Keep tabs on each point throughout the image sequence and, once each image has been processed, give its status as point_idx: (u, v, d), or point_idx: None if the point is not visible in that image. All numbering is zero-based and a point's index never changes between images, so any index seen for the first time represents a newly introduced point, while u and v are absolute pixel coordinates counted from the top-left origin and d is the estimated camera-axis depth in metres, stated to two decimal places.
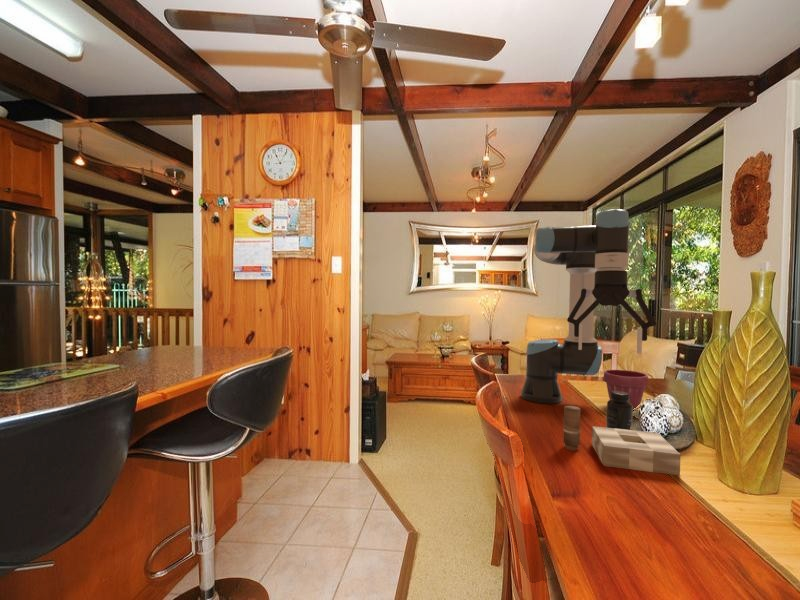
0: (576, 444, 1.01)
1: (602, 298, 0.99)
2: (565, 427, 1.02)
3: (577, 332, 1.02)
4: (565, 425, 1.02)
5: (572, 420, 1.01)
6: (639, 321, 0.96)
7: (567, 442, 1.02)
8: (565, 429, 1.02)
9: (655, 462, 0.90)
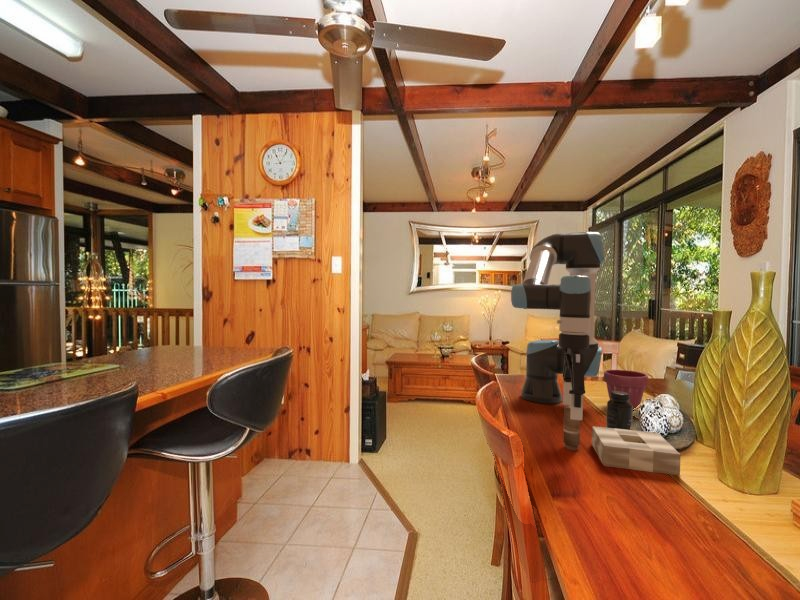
0: (576, 444, 1.01)
1: (565, 359, 1.05)
2: (565, 427, 1.02)
3: None
4: (565, 425, 1.02)
5: (572, 420, 1.01)
6: (571, 386, 0.97)
7: (567, 442, 1.02)
8: (565, 429, 1.02)
9: (655, 462, 0.90)
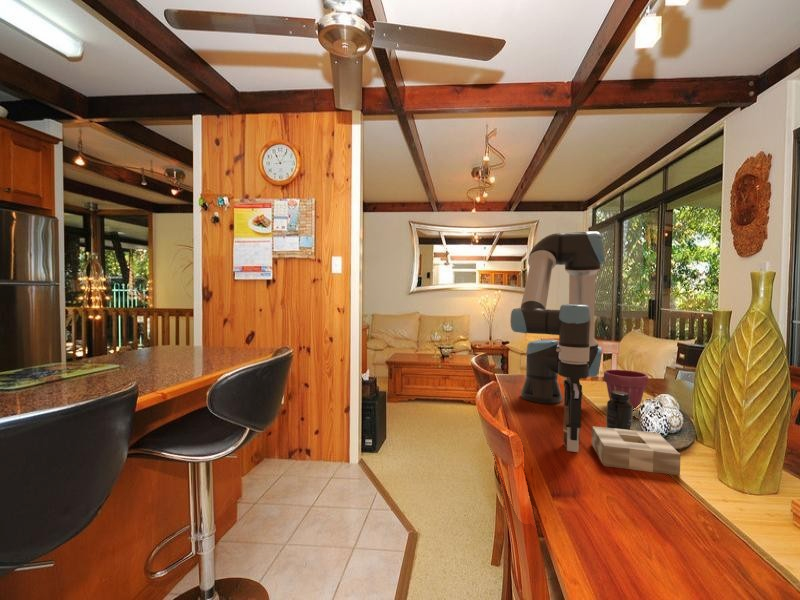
0: None
1: None
2: (565, 427, 1.02)
3: None
4: (565, 426, 1.02)
5: None
6: None
7: None
8: (565, 429, 1.02)
9: (655, 462, 0.90)
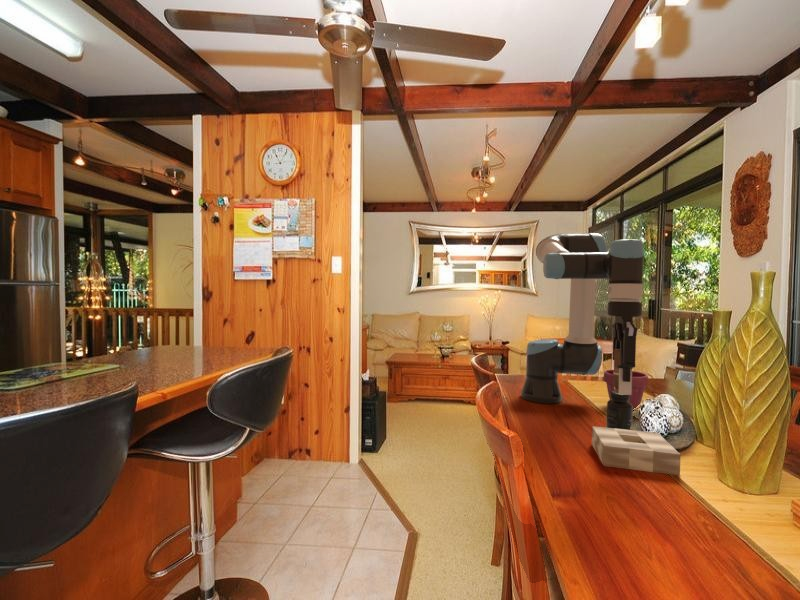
0: None
1: (614, 329, 0.99)
2: (616, 370, 0.97)
3: None
4: (616, 368, 0.97)
5: None
6: (620, 359, 0.95)
7: (618, 385, 0.97)
8: (616, 372, 0.97)
9: (655, 462, 0.90)
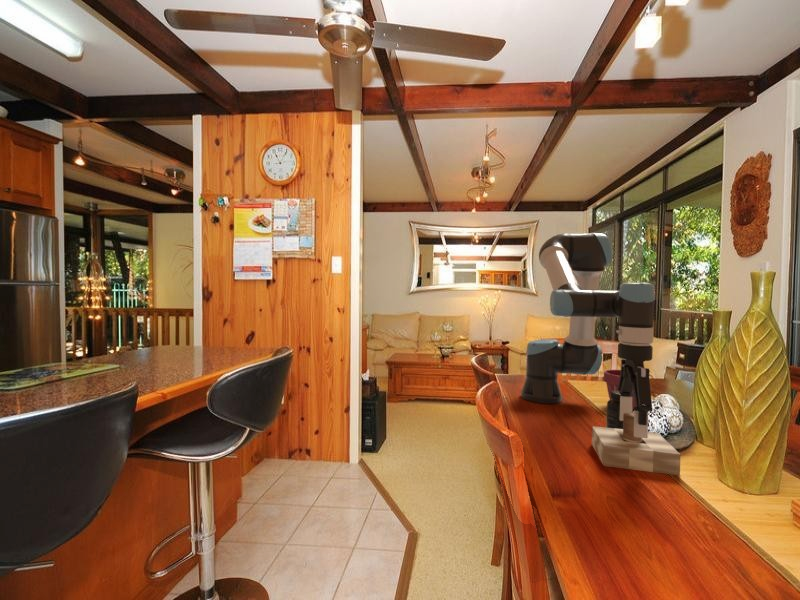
0: None
1: (624, 370, 0.99)
2: (625, 436, 0.97)
3: None
4: (625, 434, 0.97)
5: None
6: (635, 402, 0.92)
7: None
8: (625, 438, 0.97)
9: (655, 462, 0.90)
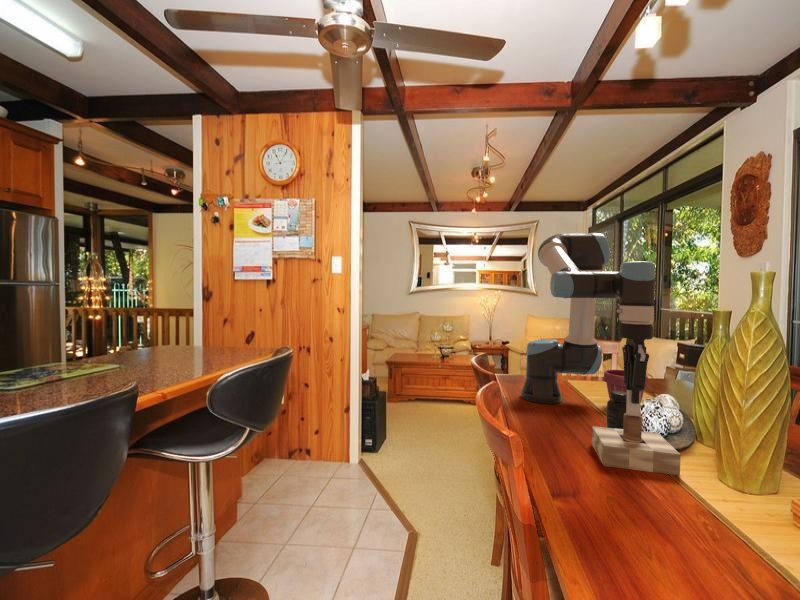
0: None
1: (625, 351, 0.98)
2: (625, 436, 0.97)
3: None
4: (625, 434, 0.97)
5: (634, 428, 0.95)
6: (630, 381, 0.96)
7: None
8: (625, 438, 0.97)
9: (655, 462, 0.90)
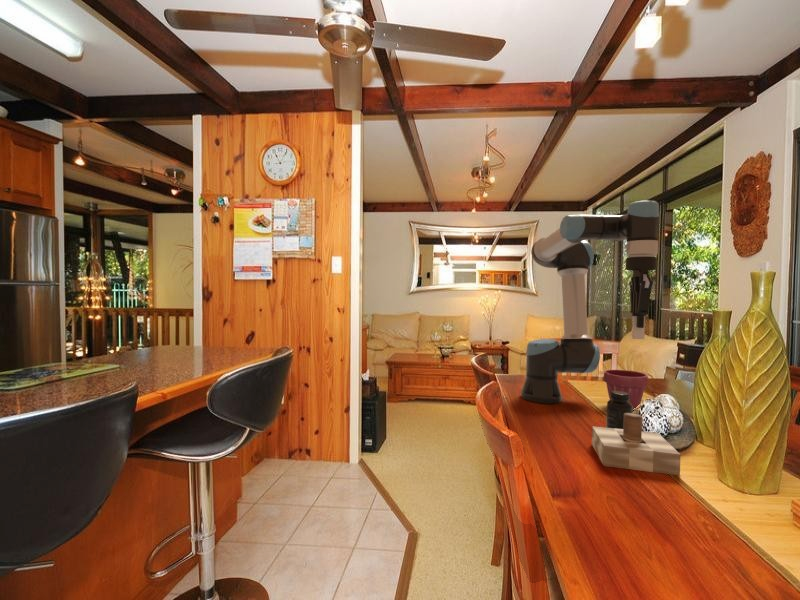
0: None
1: (632, 282, 1.10)
2: (625, 436, 0.97)
3: None
4: (625, 434, 0.97)
5: (634, 428, 0.95)
6: (635, 308, 1.09)
7: None
8: (626, 438, 0.97)
9: (655, 462, 0.90)
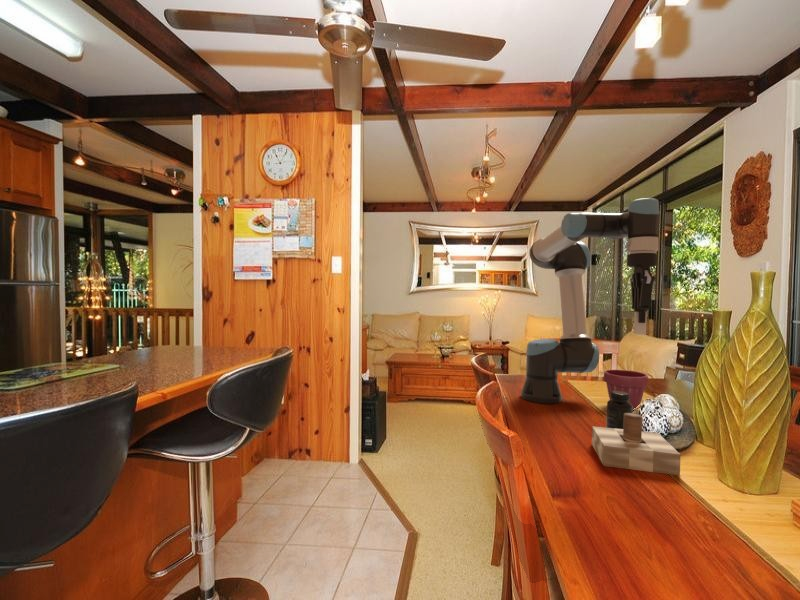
0: None
1: (633, 279, 1.12)
2: (625, 436, 0.97)
3: None
4: (625, 434, 0.97)
5: (634, 428, 0.95)
6: (637, 304, 1.10)
7: None
8: (625, 438, 0.97)
9: (655, 462, 0.90)
